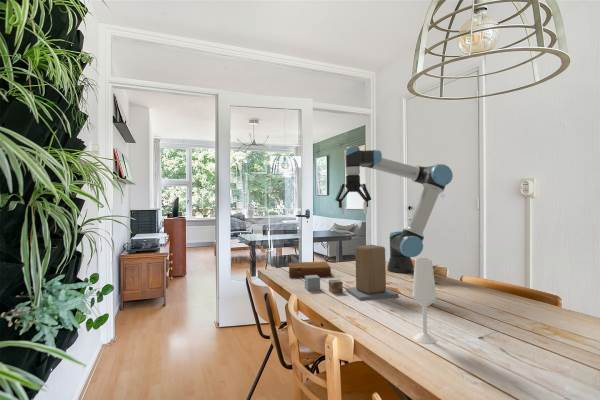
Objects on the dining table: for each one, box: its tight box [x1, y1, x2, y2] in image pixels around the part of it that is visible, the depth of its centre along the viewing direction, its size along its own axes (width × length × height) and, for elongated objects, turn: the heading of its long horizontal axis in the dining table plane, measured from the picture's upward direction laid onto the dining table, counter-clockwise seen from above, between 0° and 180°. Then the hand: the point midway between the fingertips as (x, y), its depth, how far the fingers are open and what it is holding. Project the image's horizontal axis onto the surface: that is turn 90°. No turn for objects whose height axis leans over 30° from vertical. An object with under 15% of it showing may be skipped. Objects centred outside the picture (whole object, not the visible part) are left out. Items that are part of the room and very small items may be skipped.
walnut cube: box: [328, 279, 343, 294], centre depth 159 cm, size 5×5×5 cm
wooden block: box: [354, 244, 387, 294], centre depth 154 cm, size 10×10×20 cm
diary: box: [288, 261, 332, 279], centre depth 199 cm, size 23×19×6 cm
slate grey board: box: [345, 286, 399, 301], centre depth 154 cm, size 18×16×1 cm
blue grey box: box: [304, 275, 321, 292], centre depth 164 cm, size 6×6×6 cm
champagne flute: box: [412, 257, 438, 345], centre depth 103 cm, size 7×7×24 cm
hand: (353, 213), depth 189 cm, fingers open, 13 cm apart
